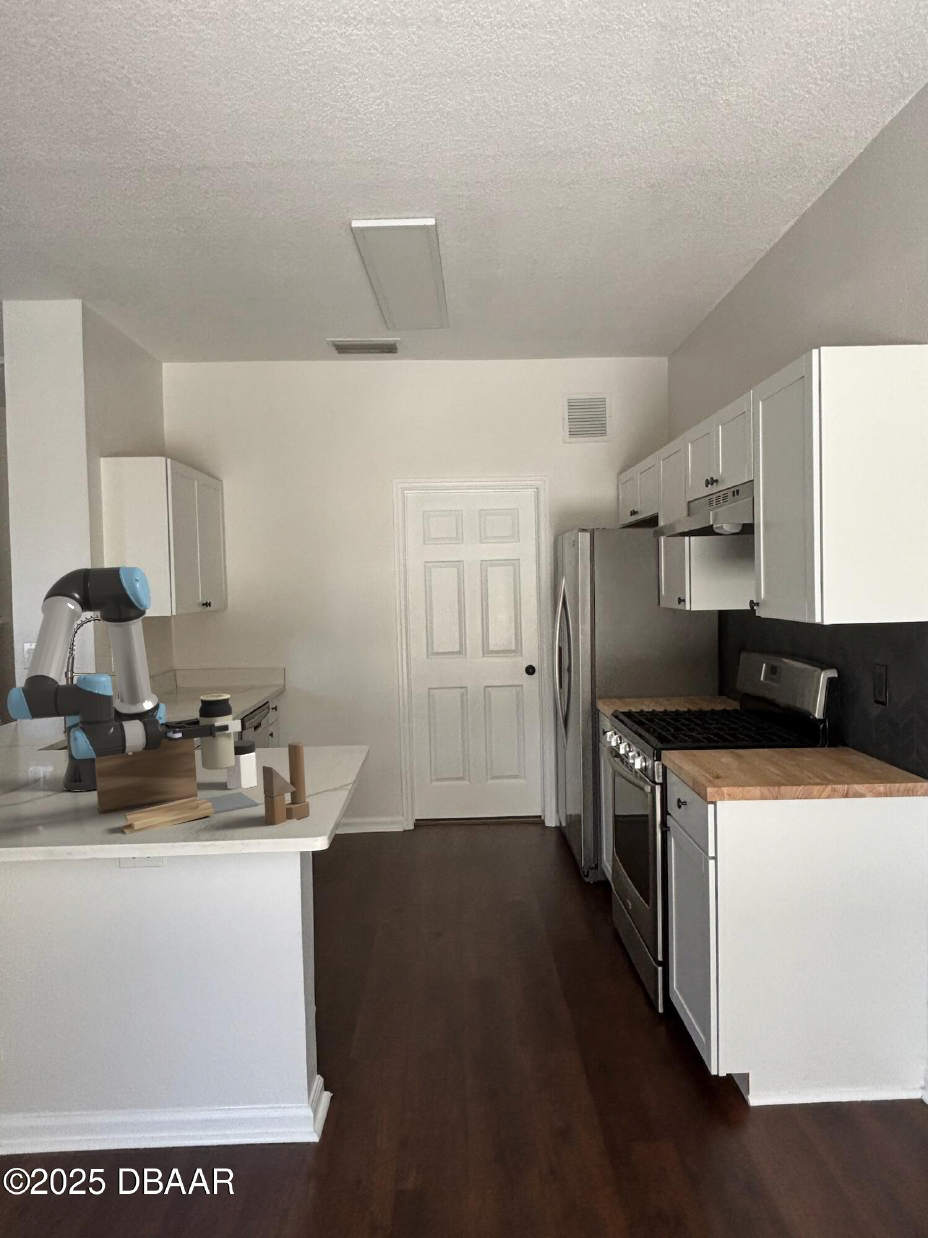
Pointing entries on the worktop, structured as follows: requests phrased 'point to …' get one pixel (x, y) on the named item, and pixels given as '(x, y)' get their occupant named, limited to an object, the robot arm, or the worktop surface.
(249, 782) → the jar
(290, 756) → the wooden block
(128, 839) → the worktop surface
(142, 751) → the wooden board
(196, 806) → the offcut stack
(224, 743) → the travel mug
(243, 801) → the mat
